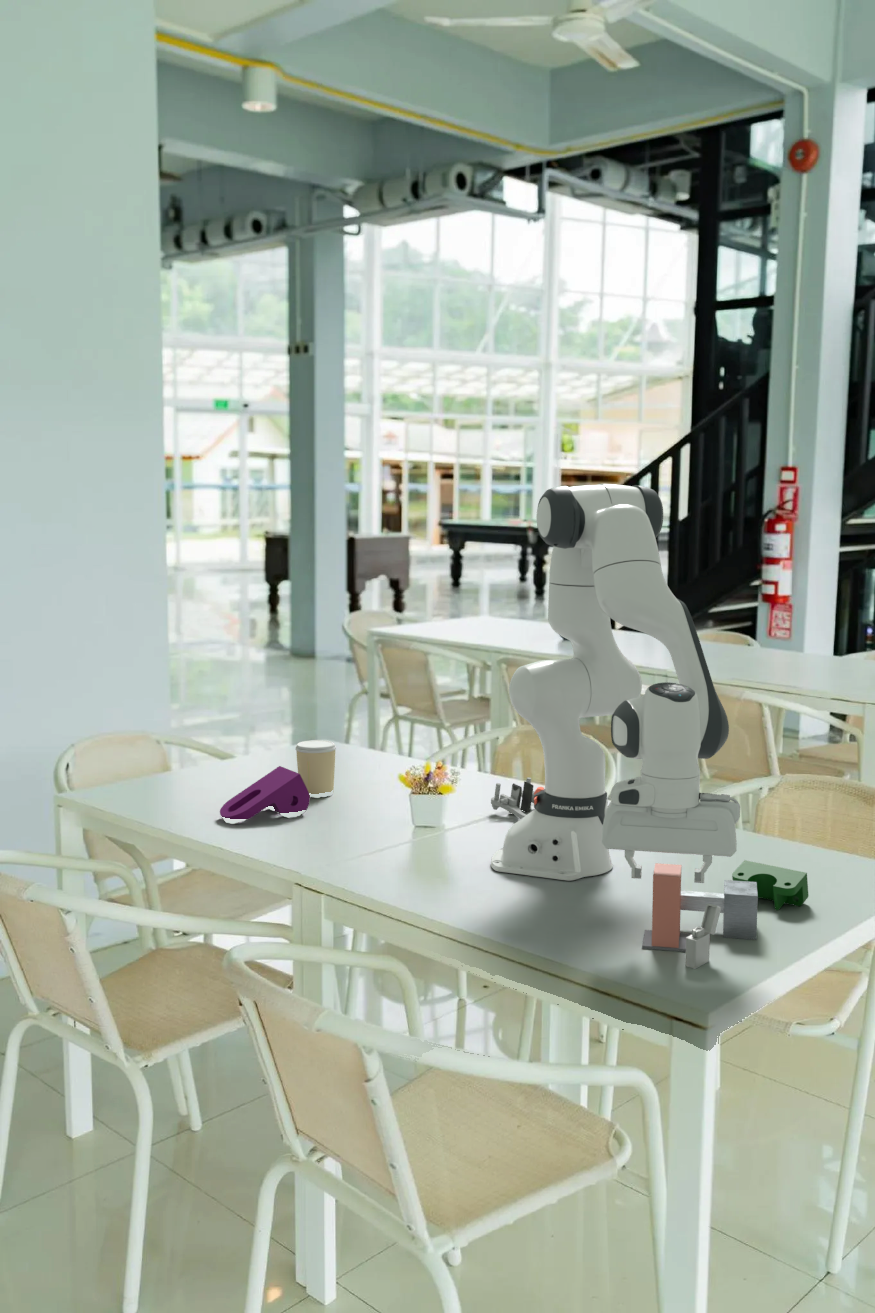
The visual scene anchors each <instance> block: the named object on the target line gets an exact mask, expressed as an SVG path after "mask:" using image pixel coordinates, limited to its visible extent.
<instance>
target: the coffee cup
mask: <svg viewBox="0 0 875 1313" xmlns="http://www.w3.org/2000/svg"><path fill="white" fill-rule="evenodd" d="M336 750H337V746H336V744H335V742H333V741H330V740H326V739H323V740H322V739H321V740H320V739H312V740H303V741H299V742H298V743H296V746H295V751H296V762H297V764H296V766H297V773H299V774H300V775H301V777H302V779H303V782H304V784H305V786H306V788H307V790H308V792H309V793H311V794H319V793H325V792H331V791H332V790H333V791H334V784H335V771H336V770H335V768H336Z"/></svg>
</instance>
